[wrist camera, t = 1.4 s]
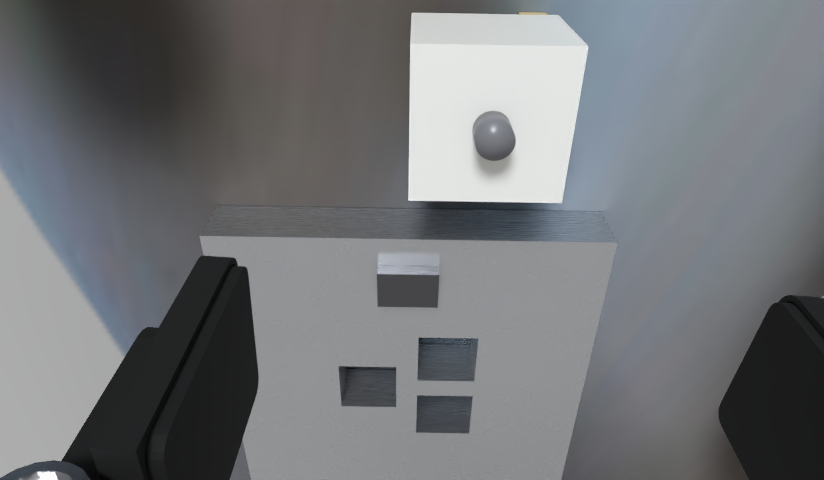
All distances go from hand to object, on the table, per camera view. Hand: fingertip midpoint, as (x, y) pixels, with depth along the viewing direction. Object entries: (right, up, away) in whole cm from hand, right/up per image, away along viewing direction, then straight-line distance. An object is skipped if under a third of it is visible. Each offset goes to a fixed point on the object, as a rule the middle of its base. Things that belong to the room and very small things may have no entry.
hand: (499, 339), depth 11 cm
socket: (-2, -5, +25) cm, 26 cm away
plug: (+1, +9, +16) cm, 19 cm away
